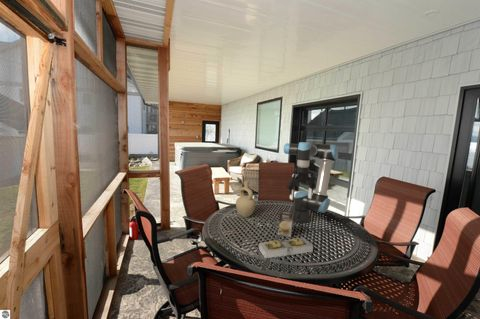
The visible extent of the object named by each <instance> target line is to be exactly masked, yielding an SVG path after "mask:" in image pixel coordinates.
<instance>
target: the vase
mask: <svg viewBox="0 0 480 319" xmlns="http://www.w3.org/2000/svg"><path fill="white" fill-rule="evenodd" d="M243 185H244V186H242V187H241V188H240V189H239V197H238V198H237V199H236V201H235V207H236V211H237V212H238V214H239V216H240V217H242V218H248V217H250V216H252V215H253V213H254V211H255V210H256V207H257V206H256V205H257V203H256V200H255V198H253V197H254V193H253V191H252V189H250V188H249V185H250V180H243ZM244 191H246V192H247V194H248V195H245V193H244Z"/></svg>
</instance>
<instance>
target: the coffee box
mask: <svg viewBox="0 0 480 319" xmlns="http://www.w3.org/2000/svg"><path fill="white" fill-rule="evenodd" d="M293 221H294V220H293V211H289V210H288V211H287V210H283V209H280V211H279V217H278V228H277V229H278V231H277V235H278V236H282V237H286V238H291V237H292V232H293Z"/></svg>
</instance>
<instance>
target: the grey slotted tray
mask: <svg viewBox="0 0 480 319" xmlns="http://www.w3.org/2000/svg"><path fill="white" fill-rule="evenodd" d="M298 238H299V237H298ZM292 239H293V238H291V239H284V240H277V241H278V242H279V243H280V244H281V248H277V249H269V241H266V242H259V243H258V250H259V251H260V253H261V254H262V256H263V258H264V259H270V258H277V257H285V256H292V255H299V254H307V252H308V253H313V250H314V245H313V244H312V243H311V242H309V241H308V240H307V239H306V238H305V237H301V238H299V239H300V240H302V241H303V245H301V246H293V247H292V246H291V240H292Z"/></svg>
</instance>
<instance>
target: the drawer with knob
mask: <svg viewBox="0 0 480 319" xmlns="http://www.w3.org/2000/svg"><path fill="white" fill-rule="evenodd" d="M278 241H279V240H270V241H269V240H268V242H269V249H277V248H281V244H280V243H279V242H278Z"/></svg>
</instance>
